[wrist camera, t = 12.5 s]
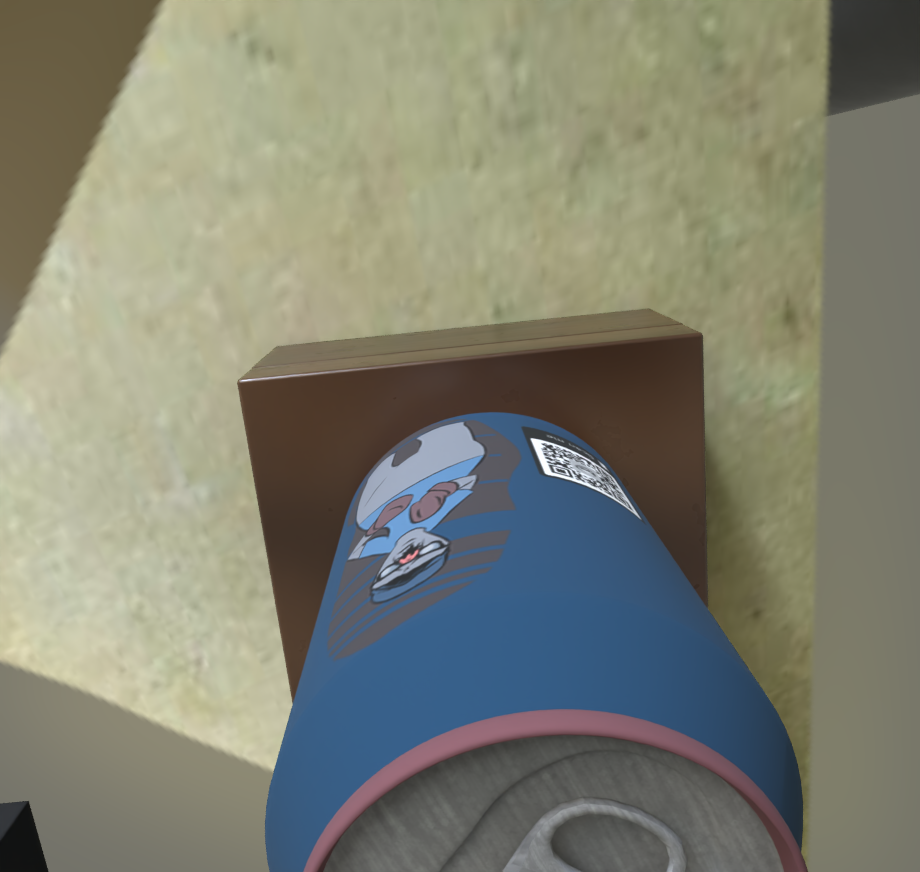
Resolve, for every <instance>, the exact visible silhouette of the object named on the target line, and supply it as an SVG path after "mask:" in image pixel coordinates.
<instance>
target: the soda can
mask: <svg viewBox="0 0 920 872" xmlns="http://www.w3.org/2000/svg"><path fill="white" fill-rule="evenodd" d="M802 833H803V798H802V787H801V779H800V774H799V769H798V764H797V760H796V757H795V753H794V750H793V747H792V744H791V741H790V739H789V736H788V734H787V731H786V729H785V727H784V725H783V723H782V721H781V719H780V717H779V715H778V713H777V711H776V709H775V708H774V706H773V705H772V703H771V702H770V700H769V698H768V697H767V695H766V694H765V692H764V691H763V689H762V688H761V687H760V685H759V684H758V682H757V681H756V679H755V678H754V676H753V675H752V673H751V672H750V670H749V669H748V667H747V666H746V664H745V663H744V662H743V660H742V659H741V657H740V656H739V654H738V653H737V651H736V650H735V648H734V647H733V645H732V644H731V642H730V641H729V639H728V638H727V636H726V635H725V634H724V632H723V631H722V629H721V628H720V626H719V625H718V623H717V622H716V620H715V619H714V617H713V616H712V614H711V613H710V611H709V610H708V609H707V607H706V606H705V604H704V603H703V601H702V600H701V598H700V597H699V595H698V594H697V592H696V591H695V589H694V588H693V586H692V585H691V584H690V582H689V581H688V579H687V578H686V576H685V575H684V573H683V572H682V570H681V569H680V567H679V566H678V564H677V563H676V561H675V560H674V559H673V557H672V556H671V554H670V553H669V551H668V550H667V548H666V547H665V545H664V544H663V542H662V541H661V539H660V538H659V536H658V535H657V534H656V532H655V531H654V529H653V528H652V526H651V525H650V523H649V522H648V520H647V519H646V517H645V516H644V514H643V513H642V511H641V510H640V509H639V507H638V506H637V504H636V503H635V501H634V500H633V498H632V497H631V495H630V494H629V492H628V491H627V489H626V488H625V486H624V485H623V484H622V482H621V481H620V479H619V478H618V476H617V475H616V473H615V472H614V471H613V469H612V468H611V467H610V465H609V464H608V463H607V462H606V461H605V460H604V459H603V458H602V457H601V456H600V455H599V454H598V453H597V452H596V451H595V450H594V449H593V448H592V447H590V446H589V445H588V444H587V443H585V442H584V441H583V440H581V439H580V438H578V437H577V436H575V435H574V434H572V433H570V432H568V431H566V430H565V429H563V428H560V427H558V426H556V425H554V424H552V423H549V422H546V421H543V420H540V419H537V418H533V417H530V416H525V415H519V414H512V413H499V412H487V413H474V414H467V415H462V416H456V417H453V418H449V419H446V420H443V421H440V422H437V423H434V424H432V425H429V426H427V427H425V428H423V429H421V430H419V431H417V432H415V433H413V434H412V435H410V436H409V437H407V438H405V439H404V440H402V441H401V442H400V443H398V444H397V445H396V446H394V447H393V448H392V449H391V450H390V451H388V452H387V453H386V454H385V455H384V456H383V457H382V458H381V459H380V460H379V461H378V462H377V463H376V464H375V465H374V467H373V468H372V469H371V470H370V472H369V473H368V474H367V476H366V477H365V478H364V480H363V481H362V483H361V484H360V486H359V488H358V490H357V491H356V493H355V495H354V497H353V500H352V502H351V504H350V507H349V509H348V512H347V515H346V518H345V522H344V525H343V529H342V532H341V536H340V539H339V543H338V547H337V550H336V554H335V557H334V561H333V564H332V568H331V571H330V575H329V578H328V582H327V585H326V589H325V592H324V596H323V600H322V603H321V607H320V610H319V614H318V617H317V621H316V624H315V628H314V631H313V635H312V638H311V642H310V645H309V649H308V653H307V656H306V660H305V663H304V667H303V670H302V674H301V677H300V681H299V684H298V688H297V691H296V695H295V698H294V702H293V706H292V709H291V713H290V716H289V720H288V723H287V727H286V730H285V734H284V737H283V741H282V744H281V748H280V751H279V755H278V759H277V762H276V766H275V769H274V773H273V777H272V780H271V785H270V788H269V794H268V800H267V806H266V819H265V840H266V841H265V842H266V852H267V860H268V866H269V870H270V872H808V870H807V867H806V864H805V861H804V859H803V856H802V854H801V847H802Z"/></svg>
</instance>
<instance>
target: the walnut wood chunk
mask: <svg viewBox="0 0 920 872" xmlns="http://www.w3.org/2000/svg"><path fill="white" fill-rule="evenodd" d="M237 384H238V390H239V396H240V402H241V407H242V413H243V419H244V425H245V431H246V436H247V442H248V448H249V454H250V460H251V465H252V471H253V477H254V483H255V489H256V494H257V500H258V506H259V512H260V517H261V523H262V529H263V535H264V541H265V546H266V552H267V558H268V564H269V570H270V575H271V581H272V587H273V593H274V599H275V604H276V610H277V616H278V622H279V628H280V633H281V639H282V645H283V651H284V656H285V662H286V668H287V674H288V680H289V685H290V691H291V697H292V703H293V702H294V698H295V695H296V691H297V688H298V684H299V681H300V677H301V674H302V670H303V667H304V663H305V660H306V656H307V653H308V649H309V645H310V642H311V638H312V635H313V631H314V628H315V624H316V621H317V617H318V614H319V610H320V607H321V603H322V600H323V596H324V592H325V589H326V585H327V582H328V578H329V575H330V571H331V568H332V564H333V561H334V557H335V554H336V550H337V547H338V543H339V539H340V536H341V532H342V529H343V525H344V522H345V518H346V515H347V512H348V509H349V507H350V504H351V502H352V500H353V497H354V495H355V493H356V491H357V490H358V488H359V486H360V484H361V483H362V481H363V480H364V478H365V477H366V476H367V474H368V473H369V472H370V470H371V469H372V468H373V467H374V465H375V464H376V463H377V462H378V461H379V460H380V459H381V458H382V457H383V456H384V455H385V454H386V453H387V452H388V451H390V450H391V449H392V448H393V447H394V446H396V445H397V444H398V443H400V442H401V441H402V440H404V439H405V438H407V437H409V436H410V435H412V434H413V433H415V432H417V431H419V430H421V429H423V428H425V427H427V426H429V425H432V424H434V423H437V422H440V421H443V420H446V419H449V418H453V417H456V416H462V415H467V414H474V413H487V412H499V413H512V414H519V415H525V416H530V417H533V418H537V419H540V420H543V421H546V422H549V423H552V424H554V425H556V426H558V427H560V428H563V429H565V430H566V431H568V432H570V433H572V434H574V435H575V436H577V437H578V438H580V439H581V440H583V441H584V442H585V443H587V444H588V445H589V446H590V447H592V448H593V449H594V450H595V451H596V452H597V453H598V454H599V455H600V456H601V457H602V458H603V459H604V460H605V461H606V462H607V463H608V464H609V465H610V467H611V468H612V469H613V471H614V472H615V473H616V475H617V476H618V478H619V479H620V481H621V482H622V484H623V485H624V486H625V488H626V489H627V491H628V492H629V494H630V495H631V497H632V498H633V500H634V501H635V503H636V504H637V506H638V507H639V509H640V510H641V511H642V513H643V514H644V516H645V517H646V519H647V520H648V522H649V523H650V525H651V526H652V528H653V529H654V531H655V532H656V534H657V535H658V536H659V538H660V539H661V541H662V542H663V544H664V545H665V547H666V548H667V550H668V551H669V553H670V554H671V556H672V557H673V559H674V560H675V561H676V563H677V564H678V566H679V567H680V569H681V570H682V572H683V573H684V575H685V576H686V578H687V579H688V581H689V582H690V584H691V585H692V586H693V588H694V589H695V591H696V592H697V594H698V595H699V597H700V598H701V600H702V601H703V603H704V604H705V606H706V607H707V609H708V575H707V523H706V472H705V420H704V368H703V335H702V333H700V332H698V331H696V330H693V329H691V328H689V327H687V326H685V325H683V324H682V323H679V322H677V321H675V320H673V319H671V318H668V317H666V316H664V315H662V314H660V313H657V312H655V311H653V310H651V309H641V310H631V311H621V312H611V313H601V314H591V315H581V316H572V317H562V318H552V319H542V320H532V321H522V322H513V323H503V324H493V325H483V326H473V327H463V328H454V329H444V330H434V331H424V332H414V333H404V334H394V335H385V336H375V337H365V338H355V339H345V340H335V341H326V342H316V343H306V344H296V345H286V346H277V347H276V348H274V349H273V350H272V351H271V352H270V353H269V354H267V355H266V356H265V357H264V358H263V359H262V360H260V361H259V362H258V363H257V364H256V365H255V366H253V367H252V369H251V370H250V371H248V372H247V373H246V374H245V375H244V376H243V377H241V378H240V379H239V380H238V383H237Z"/></svg>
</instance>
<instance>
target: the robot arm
mask: <svg viewBox="0 0 920 872" xmlns="http://www.w3.org/2000/svg"><path fill="white" fill-rule="evenodd" d="M0 872H48V868H47V865H46V861H45V858H44V854H43V851H42V847H41V843H40V840H39V836H38V833H37V829H36V826H35V822H34V819H33V815H32V812H31V808H30V805H29V801H23V802H12V803H3V804H0Z"/></svg>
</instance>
